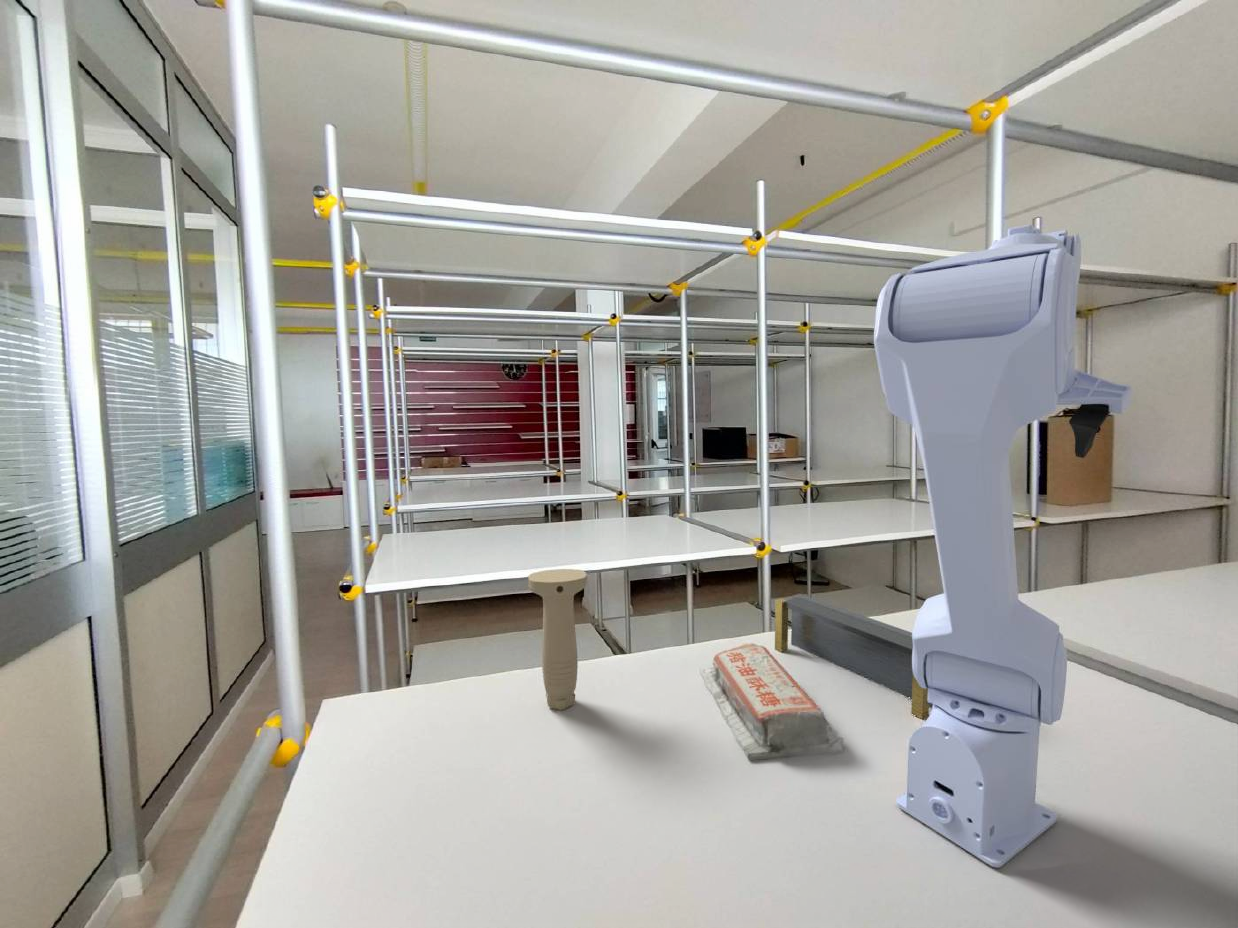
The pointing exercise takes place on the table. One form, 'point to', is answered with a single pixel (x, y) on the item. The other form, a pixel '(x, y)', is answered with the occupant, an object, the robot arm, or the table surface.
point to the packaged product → (767, 706)
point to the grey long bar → (852, 645)
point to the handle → (559, 632)
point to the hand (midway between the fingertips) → (1043, 442)
